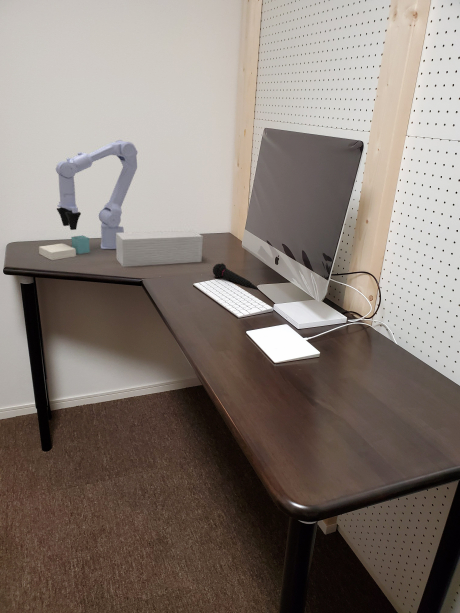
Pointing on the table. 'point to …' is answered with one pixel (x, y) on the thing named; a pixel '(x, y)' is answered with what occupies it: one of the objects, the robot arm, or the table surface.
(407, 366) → the table surface
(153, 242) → the stack of papers
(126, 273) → the table surface
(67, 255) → the cream plinth
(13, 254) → the table surface
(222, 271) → the microphone
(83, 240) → the teal block
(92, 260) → the table surface
